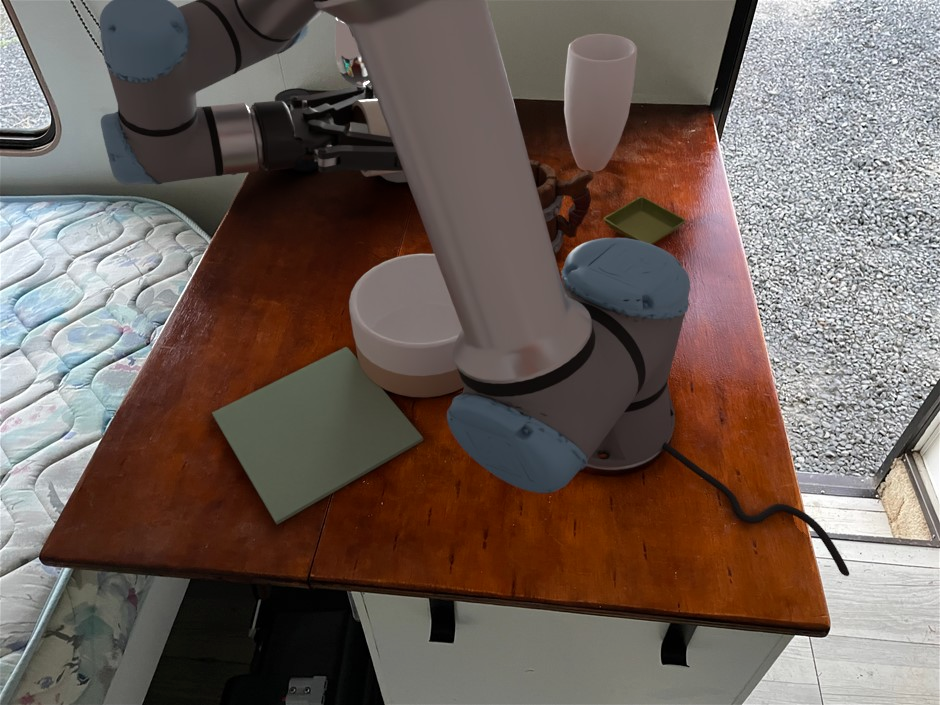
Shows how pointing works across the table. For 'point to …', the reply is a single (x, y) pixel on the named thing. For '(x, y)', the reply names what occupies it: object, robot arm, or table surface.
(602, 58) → the cup
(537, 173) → the mug
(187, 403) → the table surface
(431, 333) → the bowl
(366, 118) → the tumbler
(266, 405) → the mat
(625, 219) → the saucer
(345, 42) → the wineglass
